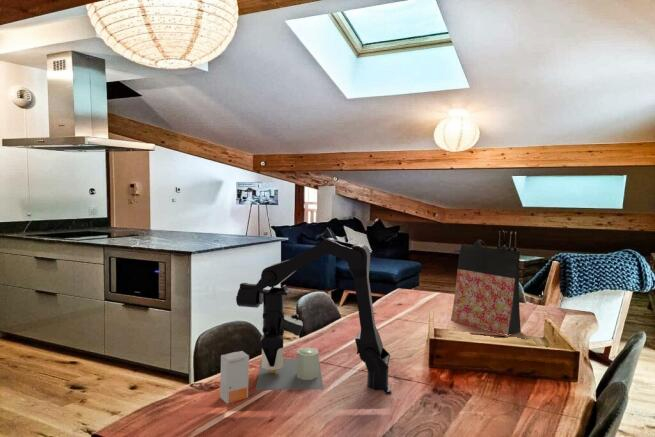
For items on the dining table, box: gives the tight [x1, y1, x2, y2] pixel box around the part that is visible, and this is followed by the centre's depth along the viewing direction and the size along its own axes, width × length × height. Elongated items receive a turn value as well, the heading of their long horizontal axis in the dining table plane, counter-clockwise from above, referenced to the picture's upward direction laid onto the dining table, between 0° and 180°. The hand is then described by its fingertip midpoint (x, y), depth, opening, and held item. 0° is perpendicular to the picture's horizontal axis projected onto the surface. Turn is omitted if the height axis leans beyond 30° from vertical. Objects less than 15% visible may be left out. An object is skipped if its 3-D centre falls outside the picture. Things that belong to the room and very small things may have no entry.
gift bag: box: [450, 239, 522, 335], centre depth 186 cm, size 29×14×35 cm, turn 39°
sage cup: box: [296, 347, 320, 380], centre depth 129 cm, size 6×6×7 cm
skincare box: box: [219, 350, 250, 404], centre depth 114 cm, size 6×4×12 cm
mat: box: [255, 358, 324, 391], centre depth 131 cm, size 22×18×1 cm
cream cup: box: [261, 347, 284, 370], centre depth 130 cm, size 6×6×7 cm
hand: (272, 362), depth 130 cm, fingers closed on cream cup, 6 cm apart
